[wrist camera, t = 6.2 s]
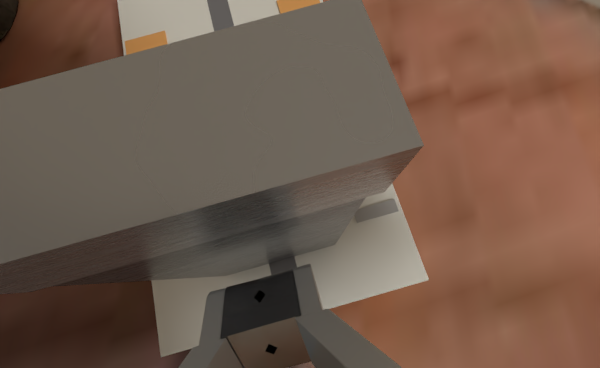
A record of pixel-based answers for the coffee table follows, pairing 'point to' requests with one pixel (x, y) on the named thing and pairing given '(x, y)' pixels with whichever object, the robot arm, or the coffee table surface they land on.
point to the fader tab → (200, 152)
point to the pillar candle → (7, 15)
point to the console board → (325, 262)
